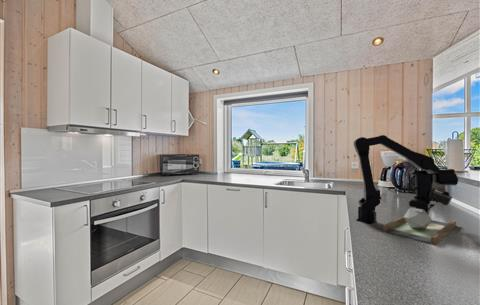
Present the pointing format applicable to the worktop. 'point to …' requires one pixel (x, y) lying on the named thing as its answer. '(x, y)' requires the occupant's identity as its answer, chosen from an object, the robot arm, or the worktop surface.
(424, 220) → the die
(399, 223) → the box
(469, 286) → the worktop surface
